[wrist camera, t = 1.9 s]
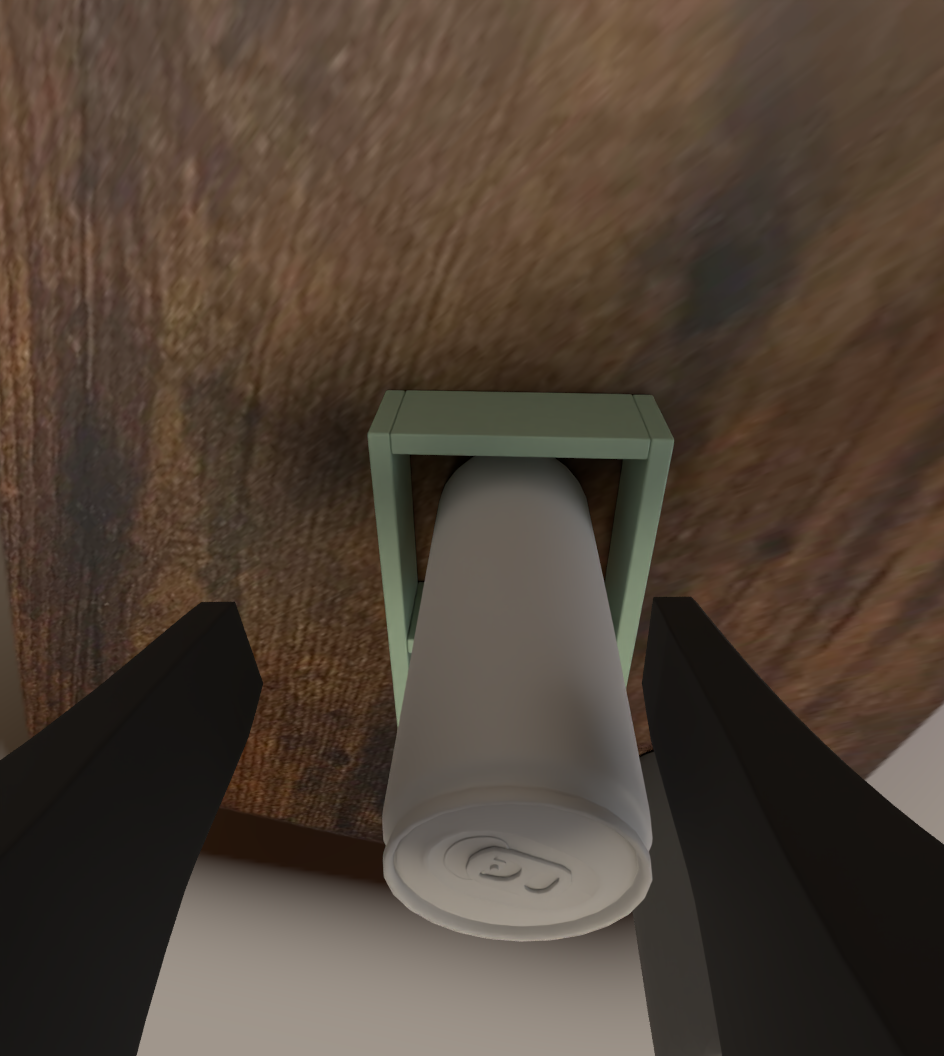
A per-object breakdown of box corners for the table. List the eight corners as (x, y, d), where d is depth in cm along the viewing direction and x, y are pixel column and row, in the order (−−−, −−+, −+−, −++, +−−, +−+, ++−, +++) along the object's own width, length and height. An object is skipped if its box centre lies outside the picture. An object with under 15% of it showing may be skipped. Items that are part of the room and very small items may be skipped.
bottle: (776, 771, 28) (997, 1321, 15) (692, 835, 31) (817, 1338, 18) (665, 727, 26) (806, 1287, 14) (589, 798, 29) (647, 1311, 17)
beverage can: (479, 412, 19) (444, 757, 9) (617, 477, 20) (723, 853, 10) (417, 530, 21) (335, 902, 11) (542, 583, 22) (566, 967, 12)
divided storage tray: (652, 394, 18) (675, 439, 16) (596, 730, 27) (605, 795, 24) (385, 389, 19) (366, 432, 16) (413, 723, 27) (403, 786, 24)
